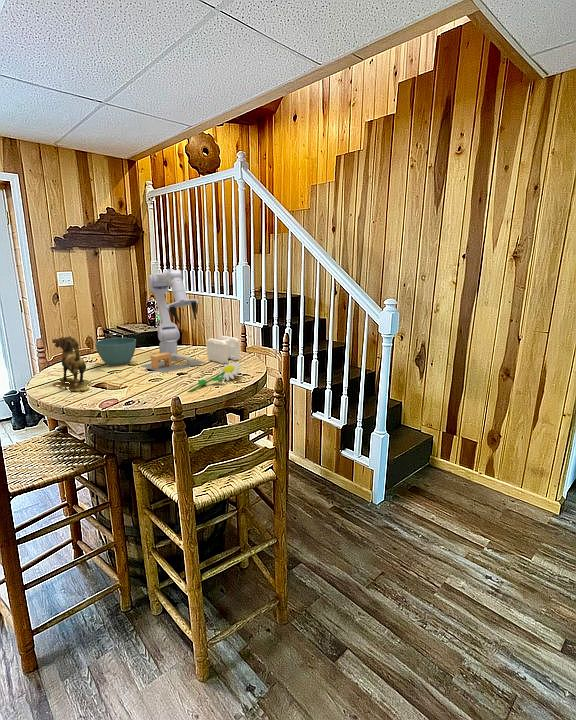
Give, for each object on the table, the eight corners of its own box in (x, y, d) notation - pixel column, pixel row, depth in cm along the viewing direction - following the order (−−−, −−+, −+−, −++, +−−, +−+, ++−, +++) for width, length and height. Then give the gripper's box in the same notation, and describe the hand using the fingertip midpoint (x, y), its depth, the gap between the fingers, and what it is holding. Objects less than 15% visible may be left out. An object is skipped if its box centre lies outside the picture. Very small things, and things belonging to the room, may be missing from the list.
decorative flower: (200, 401, 157) (249, 372, 180) (198, 389, 155) (247, 362, 178) (178, 397, 164) (228, 370, 187) (175, 386, 162) (226, 360, 185)
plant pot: (133, 359, 213) (130, 336, 210) (142, 366, 198) (139, 342, 195) (95, 364, 203) (92, 340, 200) (102, 372, 189) (98, 346, 186)
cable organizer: (241, 361, 207) (240, 338, 204) (224, 365, 200) (223, 342, 197) (222, 356, 217) (221, 335, 214) (206, 360, 210) (205, 338, 207)
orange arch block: (151, 367, 190) (150, 355, 189) (166, 364, 196) (165, 352, 194) (156, 369, 188) (155, 356, 186) (171, 365, 193) (170, 353, 192)
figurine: (81, 376, 183) (75, 331, 178) (99, 389, 165) (93, 339, 160) (49, 382, 175) (41, 335, 170) (64, 396, 157) (57, 344, 152)
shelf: (140, 368, 194) (139, 359, 193) (182, 359, 212) (182, 350, 211) (163, 376, 182) (162, 366, 181) (206, 365, 199) (206, 355, 198)
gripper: (163, 293, 183) (170, 320, 180) (195, 287, 187) (202, 313, 184) (164, 299, 190) (171, 326, 187) (195, 293, 194) (202, 319, 191)
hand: (187, 320), depth 186 cm, fingers open, 7 cm apart
